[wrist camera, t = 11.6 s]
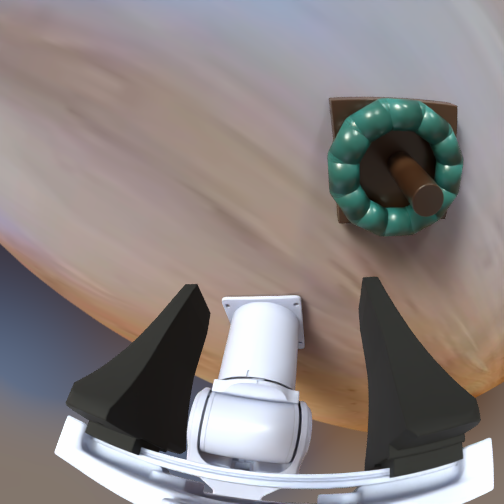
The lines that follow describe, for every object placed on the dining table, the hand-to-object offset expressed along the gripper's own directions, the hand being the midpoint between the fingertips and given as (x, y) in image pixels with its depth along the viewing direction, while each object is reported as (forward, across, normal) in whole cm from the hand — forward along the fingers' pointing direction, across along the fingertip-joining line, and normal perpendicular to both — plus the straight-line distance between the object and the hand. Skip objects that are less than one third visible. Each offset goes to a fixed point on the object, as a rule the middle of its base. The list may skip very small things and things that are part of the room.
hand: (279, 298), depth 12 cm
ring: (+8, -8, -2) cm, 11 cm away
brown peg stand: (+10, -8, -2) cm, 13 cm away
